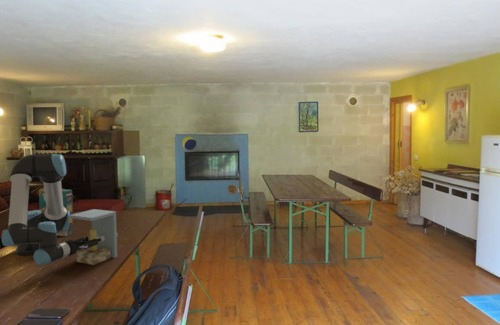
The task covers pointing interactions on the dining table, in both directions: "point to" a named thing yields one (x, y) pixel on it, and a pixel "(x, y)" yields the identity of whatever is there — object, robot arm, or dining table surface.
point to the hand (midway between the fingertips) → (100, 237)
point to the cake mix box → (66, 203)
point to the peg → (92, 235)
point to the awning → (102, 227)
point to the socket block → (93, 256)
